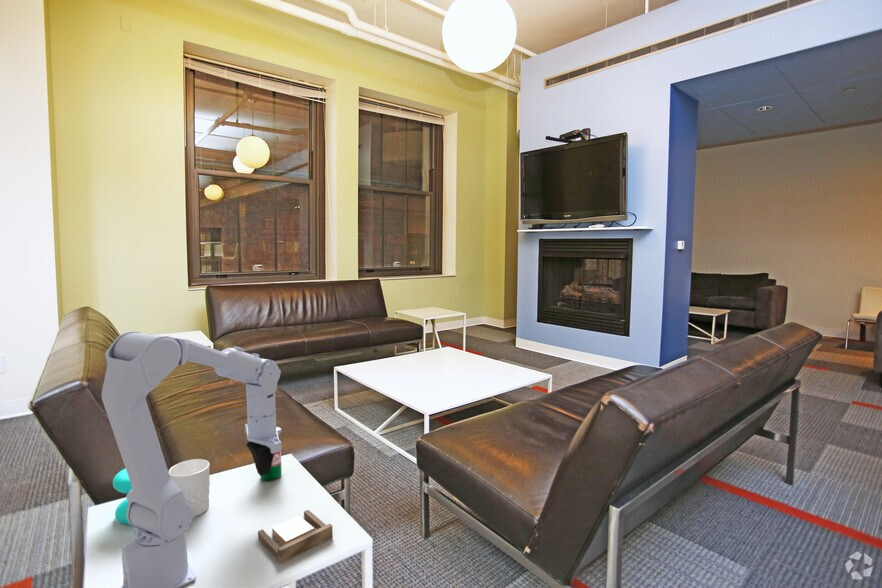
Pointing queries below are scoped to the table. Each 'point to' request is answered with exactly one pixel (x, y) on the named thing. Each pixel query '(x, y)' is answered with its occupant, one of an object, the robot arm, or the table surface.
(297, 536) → the peach block
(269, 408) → the robot arm
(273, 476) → the soda can
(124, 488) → the donuts
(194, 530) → the table surface
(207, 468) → the white cup
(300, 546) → the wooden u-shaped frame
